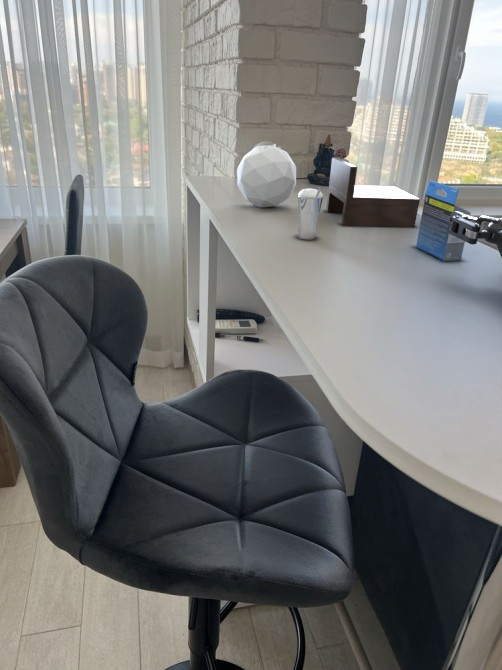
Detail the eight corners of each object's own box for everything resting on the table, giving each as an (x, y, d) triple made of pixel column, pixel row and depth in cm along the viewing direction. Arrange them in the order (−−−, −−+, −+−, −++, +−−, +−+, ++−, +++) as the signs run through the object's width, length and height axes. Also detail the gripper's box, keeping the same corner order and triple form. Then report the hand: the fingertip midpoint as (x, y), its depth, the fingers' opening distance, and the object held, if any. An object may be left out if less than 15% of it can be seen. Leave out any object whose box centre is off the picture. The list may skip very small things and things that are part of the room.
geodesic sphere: (260, 171, 130) (246, 124, 118) (311, 178, 124) (302, 129, 112) (236, 215, 124) (219, 170, 112) (289, 224, 119) (277, 178, 106)
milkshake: (303, 242, 94) (308, 187, 89) (290, 235, 98) (295, 182, 93) (324, 241, 95) (331, 186, 91) (311, 233, 100) (316, 181, 95)
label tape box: (461, 260, 88) (479, 188, 83) (441, 261, 87) (458, 189, 82) (432, 246, 96) (446, 179, 90) (413, 246, 95) (427, 179, 89)
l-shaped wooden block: (390, 212, 121) (399, 159, 116) (414, 227, 109) (425, 169, 104) (325, 210, 119) (332, 157, 114) (343, 225, 107) (350, 166, 101)
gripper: (606, 220, 64) (527, 194, 78) (502, 218, 62) (440, 192, 76) (585, 276, 67) (513, 242, 81) (486, 276, 65) (430, 241, 79)
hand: (478, 218), depth 79 cm, fingers open, 8 cm apart
